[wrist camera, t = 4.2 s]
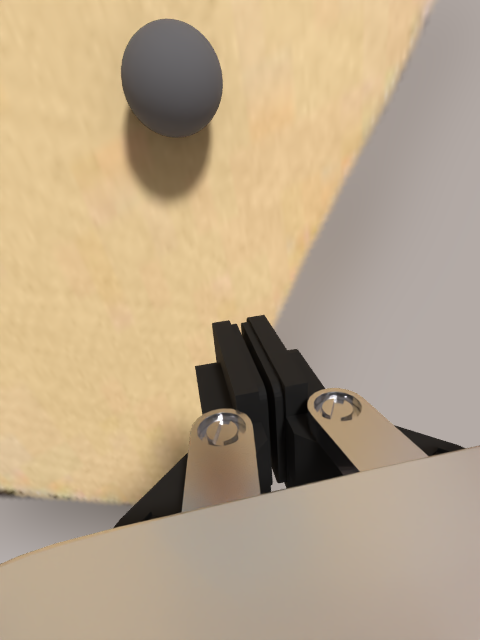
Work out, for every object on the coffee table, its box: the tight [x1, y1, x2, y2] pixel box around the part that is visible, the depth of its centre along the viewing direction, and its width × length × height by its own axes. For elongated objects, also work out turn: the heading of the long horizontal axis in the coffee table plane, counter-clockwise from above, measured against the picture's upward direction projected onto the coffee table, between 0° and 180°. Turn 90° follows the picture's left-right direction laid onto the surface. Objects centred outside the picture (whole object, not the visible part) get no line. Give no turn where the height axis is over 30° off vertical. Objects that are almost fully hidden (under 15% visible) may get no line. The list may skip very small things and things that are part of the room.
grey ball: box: [121, 19, 223, 137], centre depth 19 cm, size 5×5×5 cm
